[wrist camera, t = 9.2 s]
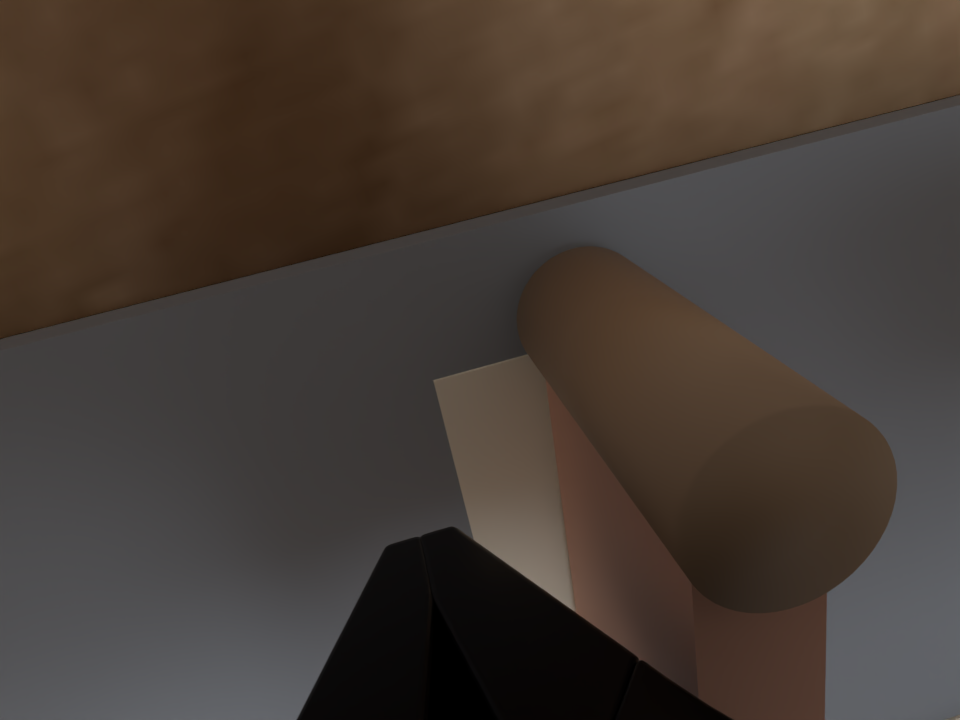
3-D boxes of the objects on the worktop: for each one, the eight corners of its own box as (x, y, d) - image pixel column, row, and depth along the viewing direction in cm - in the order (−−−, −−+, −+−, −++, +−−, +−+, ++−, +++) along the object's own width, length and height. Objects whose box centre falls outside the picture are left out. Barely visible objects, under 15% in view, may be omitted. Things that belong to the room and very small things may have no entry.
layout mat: (1328, 0, 11) (1377, -1, 10) (1182, 766, 17) (1209, 788, 16) (-558, 481, 8) (-612, 509, 8) (27, 1182, 14) (18, 1224, 14)
